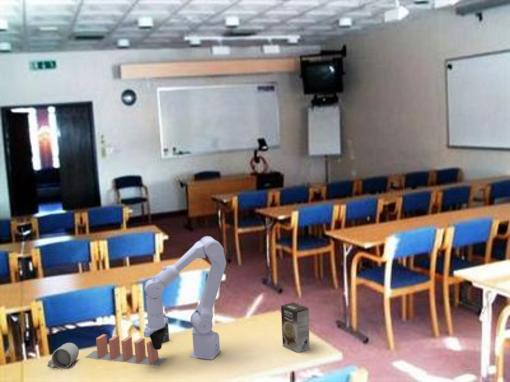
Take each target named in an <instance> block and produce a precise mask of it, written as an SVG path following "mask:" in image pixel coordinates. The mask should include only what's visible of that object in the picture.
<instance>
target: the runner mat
mask: <svg viewBox="0 0 510 382" xmlns="http://www.w3.org/2000/svg"><path fill="white" fill-rule="evenodd" d="M84 358H85V359H86V358H87V359H93V360H94V359H95V360H102V361H103V360H104V361H112V362H120V363H121V362H122V363H128V364H129V363H130V364H137V365H139V364H140V365H146V366H147V365H148V366H154V367H155V366H156V367H160V366H161V365H163V364H164V363H165V362H166V361H168V358H167V357H166V358H165V357H159V359H158V360H157V361H155V362H154V363H153V364H150V363H149V360H148V355H146V358H145V359H143V360H142V361H141V362H136V357H135V354H133V357H131V358H130V359H129V360H127V361H123V355H122V353H120V355H119V356H118V357H117V358H115V359H110V351H108V354H107V355H105V356H104V357H102V358H98V355H97V350H94V351H92V352H91V353H89V354H88V355H86V356H84Z"/></svg>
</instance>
